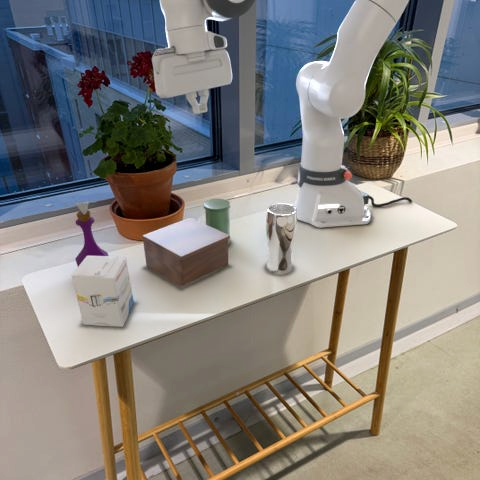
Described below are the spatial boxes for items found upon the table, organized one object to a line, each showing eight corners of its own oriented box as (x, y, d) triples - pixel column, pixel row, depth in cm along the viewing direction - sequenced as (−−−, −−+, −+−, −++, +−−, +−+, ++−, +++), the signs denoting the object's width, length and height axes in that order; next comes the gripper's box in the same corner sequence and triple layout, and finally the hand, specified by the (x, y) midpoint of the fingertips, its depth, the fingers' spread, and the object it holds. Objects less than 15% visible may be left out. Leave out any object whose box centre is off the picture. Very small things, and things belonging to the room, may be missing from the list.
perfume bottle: (77, 270, 115) (61, 198, 105) (109, 264, 118) (96, 192, 107) (82, 285, 110) (65, 210, 99) (115, 278, 112) (102, 205, 102)
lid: (230, 238, 112) (230, 235, 111) (181, 260, 104) (181, 256, 103) (190, 220, 120) (190, 217, 119) (142, 238, 112) (142, 235, 111)
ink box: (96, 301, 104) (86, 253, 98) (134, 303, 104) (127, 255, 97) (81, 325, 98) (69, 275, 91) (122, 328, 97) (113, 277, 90)
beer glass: (292, 277, 113) (296, 216, 104) (262, 274, 114) (264, 214, 105) (295, 262, 118) (299, 204, 109) (267, 260, 119) (269, 202, 110)
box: (228, 266, 117) (227, 237, 112) (181, 289, 109) (179, 258, 104) (192, 248, 124) (190, 220, 120) (146, 267, 116) (142, 238, 112)
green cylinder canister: (231, 238, 129) (230, 198, 123) (230, 249, 124) (230, 209, 117) (206, 238, 129) (204, 198, 123) (204, 249, 124) (202, 209, 117)
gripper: (159, 48, 97) (174, 121, 103) (231, 37, 108) (240, 104, 115) (141, 51, 101) (156, 122, 107) (212, 41, 112) (222, 105, 119)
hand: (200, 113), depth 111 cm, fingers closed
